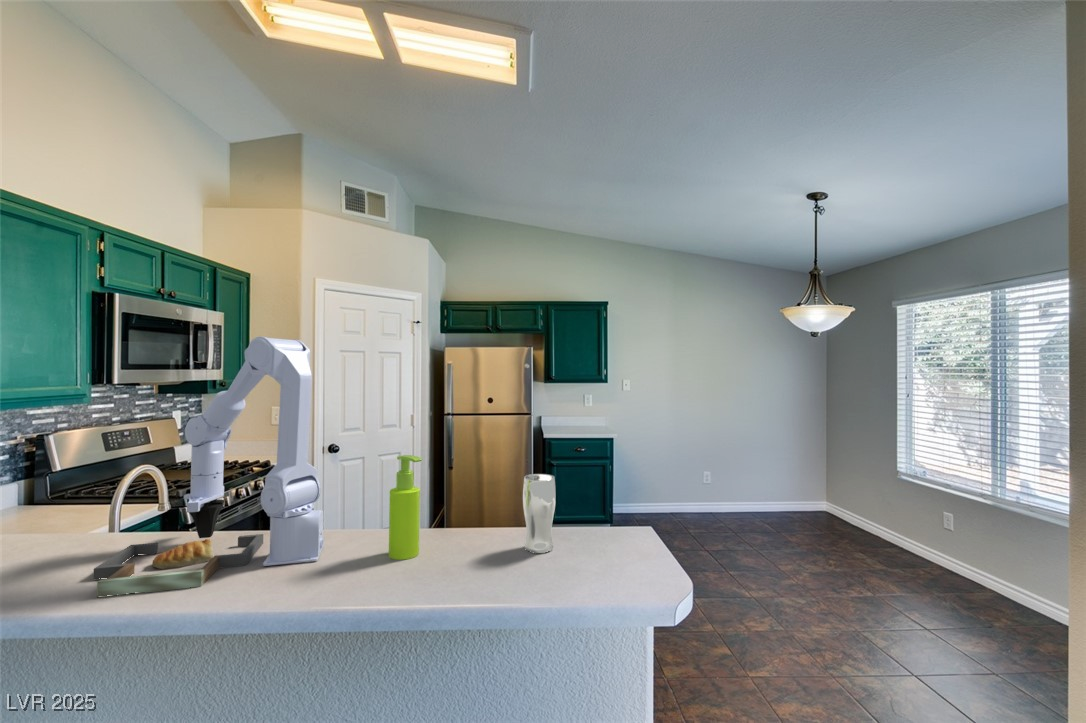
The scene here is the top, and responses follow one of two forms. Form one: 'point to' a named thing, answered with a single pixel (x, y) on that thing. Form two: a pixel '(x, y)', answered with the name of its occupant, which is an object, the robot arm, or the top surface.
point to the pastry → (185, 555)
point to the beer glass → (539, 511)
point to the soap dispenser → (404, 513)
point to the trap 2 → (242, 558)
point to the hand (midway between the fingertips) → (205, 536)
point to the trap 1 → (123, 559)
